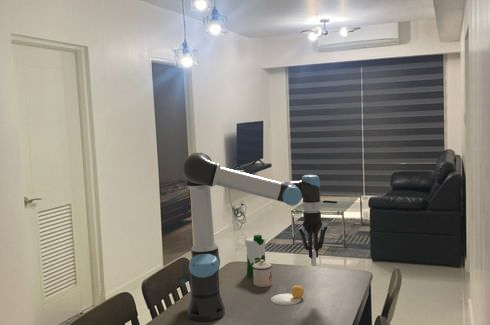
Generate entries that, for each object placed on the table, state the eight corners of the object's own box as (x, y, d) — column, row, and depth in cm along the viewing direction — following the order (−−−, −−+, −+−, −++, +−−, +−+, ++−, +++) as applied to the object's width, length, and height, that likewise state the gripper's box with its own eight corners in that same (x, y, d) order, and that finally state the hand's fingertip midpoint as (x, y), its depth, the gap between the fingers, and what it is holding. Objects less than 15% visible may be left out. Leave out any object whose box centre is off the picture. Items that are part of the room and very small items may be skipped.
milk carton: (255, 278, 247) (254, 238, 245) (244, 274, 254) (242, 235, 252) (269, 274, 252) (267, 234, 251) (257, 270, 259) (255, 232, 258)
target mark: (274, 306, 209) (274, 306, 209) (267, 295, 222) (267, 295, 222) (304, 303, 212) (304, 302, 212) (296, 292, 224) (296, 292, 224)
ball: (307, 290, 215) (301, 302, 215) (304, 286, 221) (298, 298, 221) (296, 285, 215) (290, 296, 215) (293, 281, 220) (287, 293, 220)
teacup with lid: (273, 286, 234) (272, 262, 233) (254, 287, 233) (253, 263, 232) (270, 278, 246) (269, 255, 245) (252, 279, 245) (250, 256, 244)
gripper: (299, 214, 211) (301, 269, 213) (329, 211, 213) (331, 266, 215) (294, 210, 218) (296, 264, 220) (323, 208, 220) (325, 261, 223)
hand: (313, 264), depth 218 cm, fingers closed
